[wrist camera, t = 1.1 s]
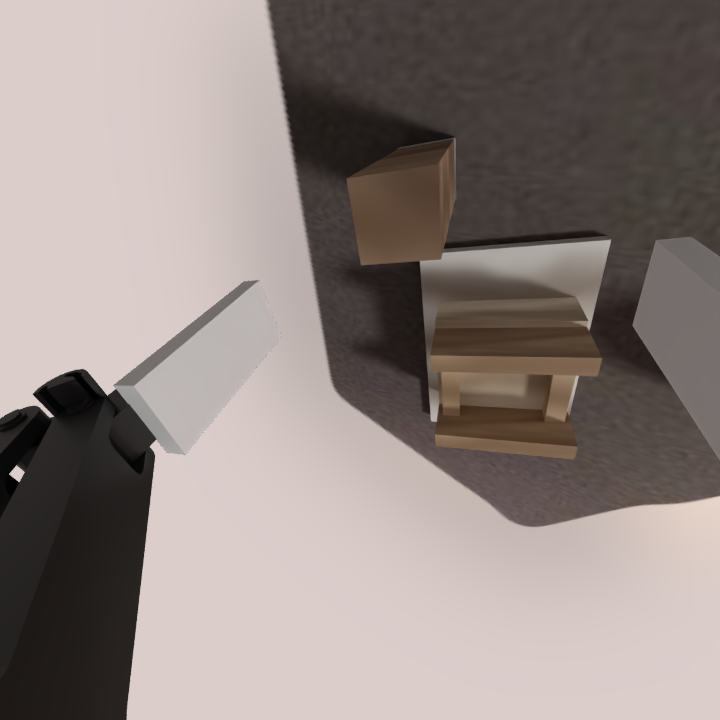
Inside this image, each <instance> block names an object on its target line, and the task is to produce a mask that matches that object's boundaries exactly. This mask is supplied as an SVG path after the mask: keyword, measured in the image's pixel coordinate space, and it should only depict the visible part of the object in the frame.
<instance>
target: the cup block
mask: <svg viewBox="0 0 720 720" xmlns="http://www.w3.org/2000/svg"><path fill="white" fill-rule="evenodd" d="M610 242H611V239H610V238H609V237H608V236H599V237H587V238H574V239H562V240H549V241H537V242H524V243H512V244H500V245H487V246H475V247H462V248H450V249H443V253H442V258H441V260H427V261H420V272H421V286H422V300H423V314H424V328H425V342H426V356H427V371H428V385H429V399H430V413H431V421H435V422H437V423H436V431H435V441H436V446H441V447H451V448H462V449H472V450H483V451H493V452H503V453H514V454H524V455H535V456H545V457H556V458H566V459H575V455H576V452H577V448H578V446H577V442H576V439H575V435H574V432H573V428H572V425H571V422H570V418H569V414H570V410H571V406H572V402H573V398H574V393H575V389H576V385H577V381H578V377H579V376H598V372H599V369H600V365H601V361H602V356H601V354H600V352H599V350H598V348H597V346H596V344H595V342H594V340H593V338H592V336H591V334H590V332H589V330H590V326H591V322H592V318H593V314H594V309H595V305H596V301H597V297H598V293H599V288H600V284H601V280H602V276H603V272H604V267H605V263H606V259H607V255H608V251H609V246H610Z"/></svg>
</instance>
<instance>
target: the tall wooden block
mask: <svg viewBox="0 0 720 720" xmlns="http://www.w3.org/2000/svg"><path fill="white" fill-rule="evenodd" d="M346 179H347V185H348V191H349V197H350V203H351V208H352V214H353V220H354V226H355V232H356V238H357V244H358V250H359V256H360V262H361V265H371V264H385V263H399V262H413V261H427V260H441V258H442V253H443V249H444V245H445V241H446V236H447V232H448V228H449V223H450V219H451V215H452V210H453V206H454V202H455V201H456V137H454V138H448V139H443V140H437V141H431V142H426V143H420V144H415V145H409V146H403V147H399V148H398V150H396V151H394V152H392V153H391V154H389V155H387V156H385V157H383V158H382V159H380V160H378V161H376V162H375V163H373V164H371V165H369V166H368V167H366V168H364V169H362V170H361V171H359V172H357V173H355V174H354V175H352V176H350V177H348V178H346Z"/></svg>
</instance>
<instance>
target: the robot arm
mask: <svg viewBox="0 0 720 720" xmlns="http://www.w3.org/2000/svg"><path fill="white" fill-rule="evenodd" d="M632 326H633V327H634V329H635V330H636V332H637V334H638V335H639V337H640V338H641V340H642V341H643V343H644V344H645V346H646V347H647V349H648V351H649V352H650V354H651V355H652V357H653V358H654V360H655V361H656V363H657V364H658V366H659V367H660V369H661V371H662V372H663V374H664V375H665V377H666V378H667V380H668V381H669V383H670V384H671V386H672V387H673V389H674V391H675V392H676V394H677V395H678V397H679V398H680V400H681V401H682V403H683V404H684V406H685V408H686V409H687V411H688V412H689V414H690V415H691V417H692V418H693V420H694V421H695V423H696V424H697V426H698V428H699V429H700V431H701V432H702V434H703V435H704V437H705V438H706V440H707V441H708V443H709V445H710V446H711V448H712V449H713V451H714V452H715V454H716V455H717V457H718V458H719V460H720V256H718V255H717V254H715V253H714V252H712V251H711V250H709V249H708V248H707V247H705V246H704V245H702V244H701V243H699V242H698V241H696V240H695V239H693V238H692V237H683V238H673V239H663V240H656V242H655V245H654V249H653V253H652V256H651V260H650V264H649V267H648V271H647V274H646V278H645V282H644V285H643V289H642V292H641V296H640V300H639V303H638V307H637V310H636V314H635V318H634V321H633V325H632ZM280 339H281V334H280V332H279V329H278V326H277V324H276V321H275V319H274V316H273V314H272V311H271V309H270V306H269V304H268V301H267V299H266V296H265V294H264V291H263V288H262V286H261V283H260V281H259V280H257V281H247V282H243V283H241V284H240V285H239V286H238V287H237V288H235V289H234V290H233V291H232V292H230V293H229V294H228V295H226V296H225V297H224V298H223V299H221V300H220V301H219V302H218V303H216V305H214V306H213V307H211V308H210V309H209V310H208V311H206V312H205V313H204V314H203V315H201V316H200V317H199V318H197V319H196V320H195V321H194V322H192V323H191V324H190V325H189V326H188V327H186V328H185V329H184V330H182V331H181V332H180V333H179V334H177V335H176V336H175V337H174V338H172V339H171V340H170V341H169V342H167V343H166V344H165V345H164V346H162V347H161V348H160V349H159V350H157V351H156V352H155V353H154V354H152V355H151V356H150V357H148V358H147V359H146V360H145V361H144V362H142V363H141V364H140V365H138V366H137V367H136V368H135V369H133V370H132V371H131V372H130V373H128V374H127V375H126V376H125V377H123V378H122V379H121V380H119V381H118V382H117V383H116V384H114V387H115V388H116V390H114V391H113V392H112V393H110V394H109V395H108V396H107V395H106V394H105V392H104V391H103V390H102V389H101V388H100V386H99V385H98V384H97V383H96V381H95V380H94V379H93V378H92V377H91V375H90V374H89V373H88V372H87V371H86V370H84V369H80V370H74V371H70V372H67V373H65V374H62V375H60V376H58V377H56V378H54V379H52V380H50V381H49V382H47V383H45V384H44V385H42V386H41V387H40V388H38V389H37V390H36V391H35V392H34V393H33V395H34V396H35V397H36V398H37V399H38V400H39V401H40V402H41V403H42V404H43V405H44V406H45V407H46V408H47V409H48V410H49V411H50V412H51V414H52V415H54V417H51V418H49V417H48V416H47V415H46V414H45V413H44V412H43V411H42V410H41V409H40V408H39V407H37V406H30V407H26V408H23V409H20V410H18V409H17V410H15V411H13V412H11V413H9V414H7V415H5V416H4V417H2V418H1V419H0V720H126V719H127V718H126V716H127V714H126V713H127V702H128V693H129V685H130V676H131V667H132V658H133V648H134V640H135V631H136V622H137V613H138V604H139V595H140V586H141V577H142V569H143V559H144V551H145V541H146V533H147V523H148V515H149V506H150V496H151V488H152V479H153V470H154V461H155V454H154V452H153V450H152V449H151V448H150V445H151V444H152V443H153V442H154V441H155V440H157V441H158V442H159V443H160V445H161V446H162V447H163V448H164V450H165V451H166V452H167V453H175V454H183V455H186V454H187V452H188V451H189V450H190V449H191V447H192V446H193V445H194V444H195V442H196V441H197V440H198V439H199V438H200V436H201V435H202V434H203V433H204V431H205V430H206V429H207V428H208V427H209V425H210V424H211V423H212V422H213V420H214V419H215V418H216V417H217V416H218V414H219V413H220V412H221V411H222V409H223V408H224V407H225V406H226V405H227V403H228V402H229V401H230V400H231V398H232V397H233V396H234V395H235V394H236V392H237V391H238V390H239V388H240V387H241V386H242V385H243V384H244V383H245V381H246V380H247V379H248V378H249V376H250V375H251V374H252V373H253V372H254V370H255V369H256V368H257V366H258V365H259V364H260V363H261V362H262V361H263V359H264V358H265V357H266V356H267V354H268V353H269V352H270V351H271V350H272V348H273V347H274V346H275V344H276V343H277V342H278V341H279V340H280ZM16 465H17V466H18V467H20V468H21V469H22V470H23V471H24V472H25V473H24V475H23V477H22V479H21V481H20V482H18V481H17V480H15V479H14V478H13V477H11V476H10V475H9V473H10V472H11V471H12V470H13V469H14V467H15V466H16Z"/></svg>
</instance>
